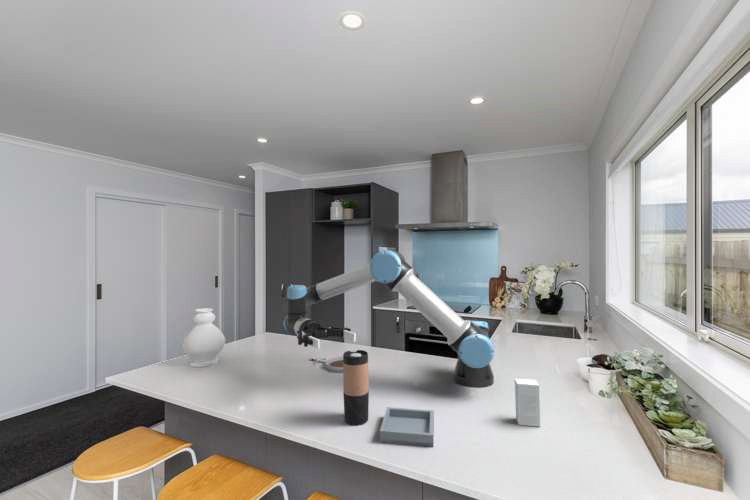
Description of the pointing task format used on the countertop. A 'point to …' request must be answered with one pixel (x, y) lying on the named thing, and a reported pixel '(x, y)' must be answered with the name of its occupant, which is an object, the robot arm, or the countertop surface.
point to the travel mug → (355, 387)
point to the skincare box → (527, 402)
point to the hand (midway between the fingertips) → (337, 340)
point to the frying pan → (332, 363)
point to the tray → (408, 427)
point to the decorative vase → (204, 340)
